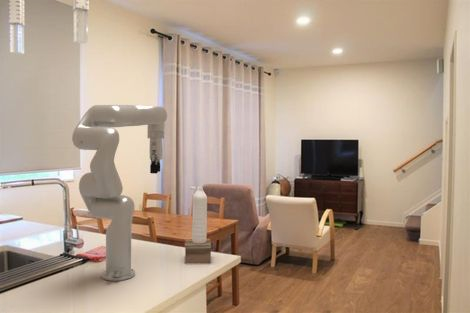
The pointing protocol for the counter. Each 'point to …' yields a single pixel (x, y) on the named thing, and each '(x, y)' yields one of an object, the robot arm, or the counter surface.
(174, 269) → the counter surface
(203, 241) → the water bottle
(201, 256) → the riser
